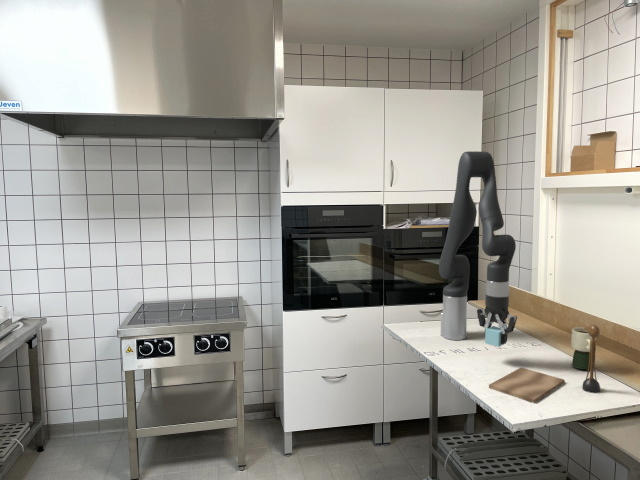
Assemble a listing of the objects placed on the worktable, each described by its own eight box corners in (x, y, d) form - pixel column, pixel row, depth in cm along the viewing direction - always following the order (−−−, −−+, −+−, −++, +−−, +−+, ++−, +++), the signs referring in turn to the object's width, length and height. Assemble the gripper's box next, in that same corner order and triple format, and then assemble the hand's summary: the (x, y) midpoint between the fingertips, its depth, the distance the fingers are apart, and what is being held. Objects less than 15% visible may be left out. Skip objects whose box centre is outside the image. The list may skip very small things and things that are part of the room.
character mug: (601, 374, 157) (603, 335, 155) (577, 374, 157) (579, 335, 156) (586, 362, 167) (588, 325, 166) (564, 361, 168) (566, 325, 167)
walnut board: (488, 387, 149) (488, 384, 149) (521, 370, 162) (521, 367, 162) (534, 403, 138) (534, 399, 138) (564, 382, 151) (564, 379, 151)
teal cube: (485, 343, 168) (485, 329, 168) (492, 339, 172) (493, 326, 171) (498, 346, 165) (498, 332, 164) (506, 343, 168) (506, 329, 167)
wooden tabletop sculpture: (576, 385, 149) (579, 321, 147) (590, 384, 150) (593, 320, 147) (589, 393, 144) (591, 327, 141) (603, 392, 144) (607, 326, 142)
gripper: (472, 291, 169) (471, 339, 171) (511, 299, 158) (509, 349, 160) (484, 287, 173) (482, 334, 176) (523, 295, 163) (521, 344, 165)
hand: (495, 341), depth 168 cm, fingers closed on teal cube, 5 cm apart
